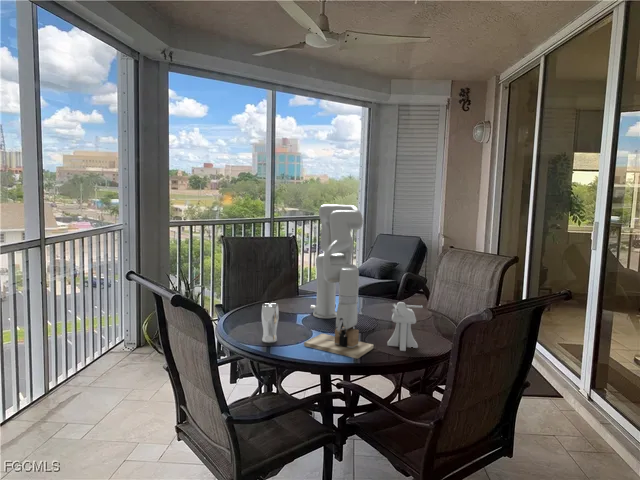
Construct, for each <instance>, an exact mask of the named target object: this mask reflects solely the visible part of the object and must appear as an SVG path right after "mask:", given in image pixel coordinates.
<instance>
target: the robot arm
mask: <svg viewBox="0 0 640 480" xmlns="http://www.w3.org/2000/svg"><path fill="white" fill-rule="evenodd" d="M318 217H319V220H320V223H321V232H320V233H321V234H320V244H319V245H320V250H321V251H322V253H320V254H318V255H317V256H316V258H315V267H316V305H315V304H310V308H309V310H313V312H312V316H313V317H314V318H319V319H335V329H337V331H338V333H339V336H340V338H339V345H340V346H344V347H347V337H346V336H347V330H348V329H349V328H352V329H356V326H357V324H358V313H359V312H358V304H359V282H360V271H359V268H358V266H357V265H356V264H352V258H353V249H354V240H353V237H352V234H351V230H357V231H358V230H360V229H361V228H362V227H363V223H364V220H363V215H362V211H360V210H359V208H357V206H356V205H353V204H335V203H334V204H333V203H332V204H330V203H327V204H322V205H320V207H319V208H318ZM337 283H339V284H338V285H339V286H338V304H337V309H336V292H337V290H336V289H337ZM342 327H345V328H342ZM342 330H345V332H344V331H342Z"/></svg>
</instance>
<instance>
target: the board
mask: <svg viewBox="0 0 640 480" xmlns="http://www.w3.org/2000/svg"><path fill="white" fill-rule="evenodd" d="M303 347H308V348H311V349H316V350H319V351H325V352H329V353H333V354H337V355H339V356H340V355H341V356H345V357H348V358H352V359H359V358H361V357H362V356H364V355H366V354H367V353H369V352H370V351H372V350H373V349H374V348H375V347H374V344H373V343H367V342H364V341H359V340H358V345H357V346H355V347H354V348H349V347H344V346H340V345H336V344H335V335H330V334H327V333H320V334H318V335H316V336H314V337H312V338H310V339H308V340H306V341H304V342H303Z"/></svg>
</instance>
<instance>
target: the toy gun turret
mask: <svg viewBox="0 0 640 480" xmlns="http://www.w3.org/2000/svg"><path fill="white" fill-rule="evenodd" d="M392 307H394V308H392V309H391V310H390V311H391V312H392V316H391V321H392V322H393V323H395V329H394V330H393V333H392V334H391V336H390V338H389V340H387V342H386V343H387V345H386V346H388V347H389V346H390V347H399V351H401V352H406V350H407V348H411V347H413V348H415V349H418V348H419V345H418V344H419V343H418V342H417V341H416V340H415V337H414V336H413V333H412V328H411V327H412V325H415V324H416V323H417V317H416V315H415V311H413V309H412V308H420V309H423V307H424V306H423V305H414V304H413V305H412V304H406V303H405V302H403V301H399V302H397V304H396V303H395V302H394V303H392Z"/></svg>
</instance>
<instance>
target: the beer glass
mask: <svg viewBox="0 0 640 480" xmlns="http://www.w3.org/2000/svg"><path fill="white" fill-rule="evenodd" d="M279 314H280V312H279V303H275V302H268V303H267V302H266V303H262V306H261V324H262V330H263V331H262V332H263V333H262V334H263V335H262V338H261V340H262V342H263V343H267V344H272V343H273V344H274V343H276V342H277V341H278V338H277V328H278V323H279V316H280V315H279Z"/></svg>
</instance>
